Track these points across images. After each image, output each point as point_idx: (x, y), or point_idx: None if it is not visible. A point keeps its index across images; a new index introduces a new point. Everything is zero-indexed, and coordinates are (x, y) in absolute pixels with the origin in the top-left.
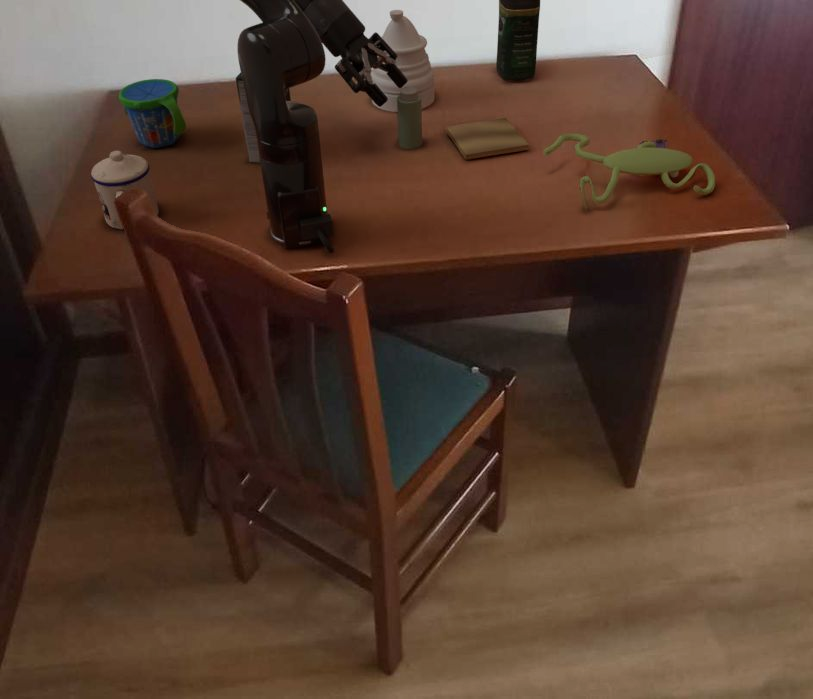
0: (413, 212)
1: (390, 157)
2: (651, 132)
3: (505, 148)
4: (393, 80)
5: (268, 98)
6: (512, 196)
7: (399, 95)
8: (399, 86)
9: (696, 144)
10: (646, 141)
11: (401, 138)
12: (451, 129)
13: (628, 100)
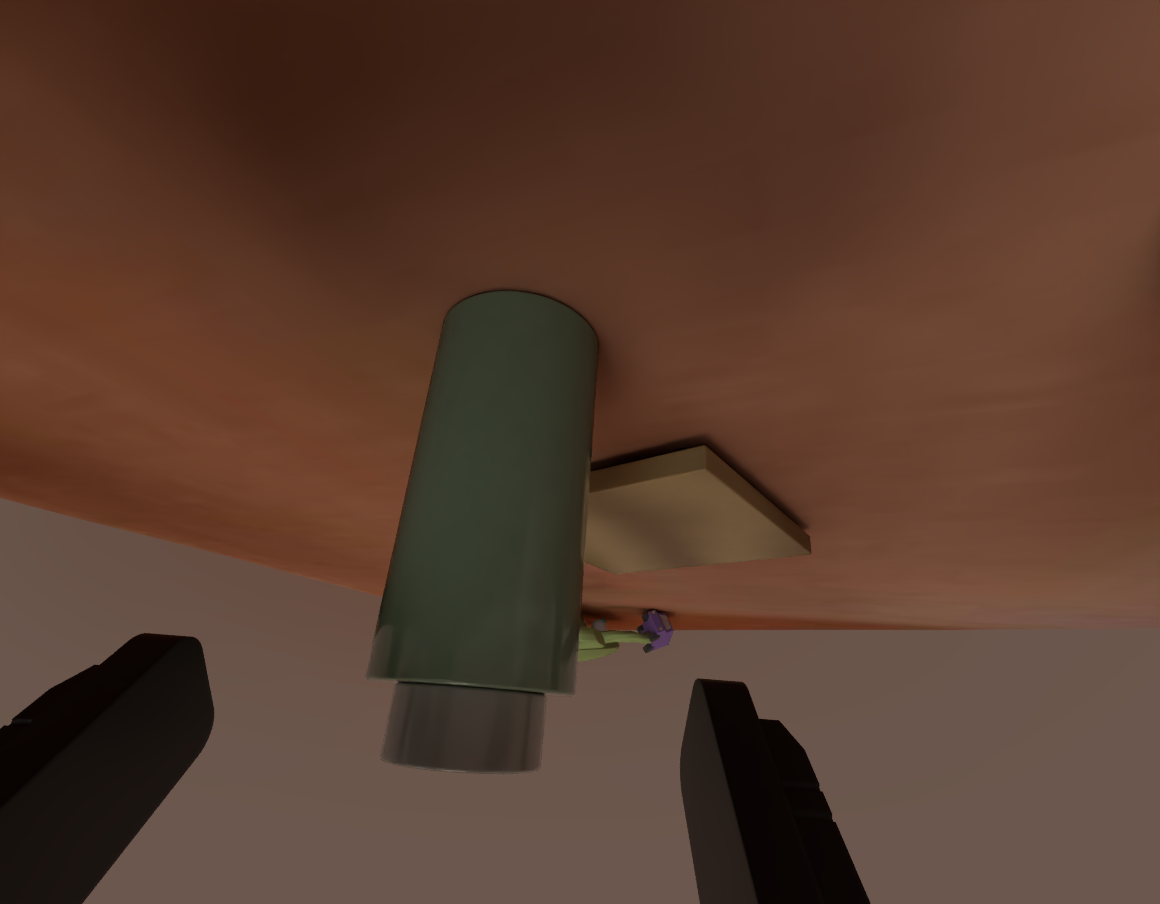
0: (45, 442)
1: (286, 294)
2: (757, 616)
3: None
4: (719, 786)
5: None
6: (371, 542)
7: (475, 685)
8: (700, 700)
9: (713, 626)
10: (651, 641)
11: (431, 377)
12: (675, 483)
13: (937, 614)
